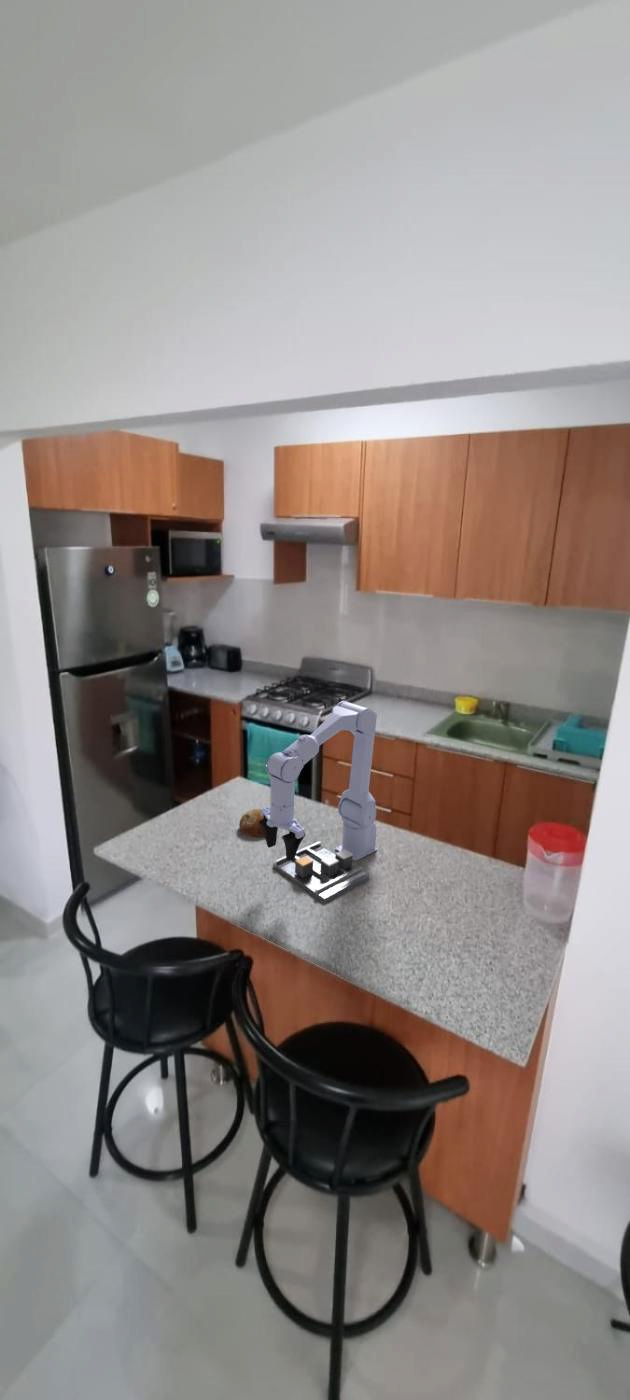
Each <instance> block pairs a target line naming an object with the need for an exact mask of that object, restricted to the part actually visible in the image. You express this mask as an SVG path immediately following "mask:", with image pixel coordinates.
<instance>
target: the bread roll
mask: <svg viewBox="0 0 630 1400" xmlns="http://www.w3.org/2000/svg"><path fill="white" fill-rule="evenodd" d="M261 809H262V808H255V809H250V810H249V811H246V812H245V813H243V815H242V816H241V818H240V820H239V824H238V827H239V830H240V832H242V834H244V835H245V836H249V837H253V838H256V837H257V838H261V837H265V835H264V832H263V830H262V828H261V826H260V825H259V821H260V820H262V819H263V818H264V817H262V816H261Z"/></svg>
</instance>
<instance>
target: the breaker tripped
mask: <svg viewBox="0 0 630 1400" xmlns="http://www.w3.org/2000/svg"><path fill="white" fill-rule="evenodd" d="M295 873H296V874H298V875H299V876H301V877H302V878H304V877H306V876H308V875H310V874H312V873H313V860H311V859H309V858H308V857H306V856H304V857H302V858H300V859H298V860H296V861H295Z"/></svg>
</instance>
